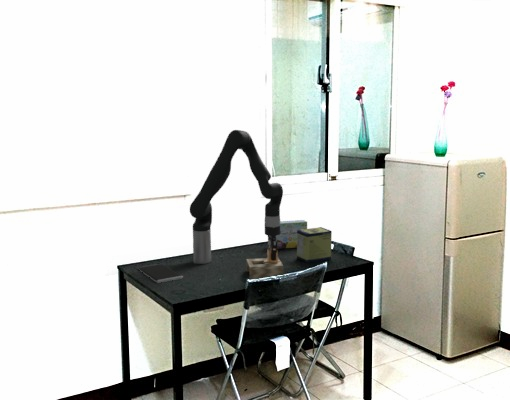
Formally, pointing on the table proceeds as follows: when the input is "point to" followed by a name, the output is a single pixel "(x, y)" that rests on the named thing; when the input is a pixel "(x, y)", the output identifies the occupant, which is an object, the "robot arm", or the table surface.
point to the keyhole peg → (270, 256)
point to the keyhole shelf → (263, 268)
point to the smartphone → (160, 273)
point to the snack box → (289, 233)
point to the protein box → (314, 244)
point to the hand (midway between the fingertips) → (272, 258)
